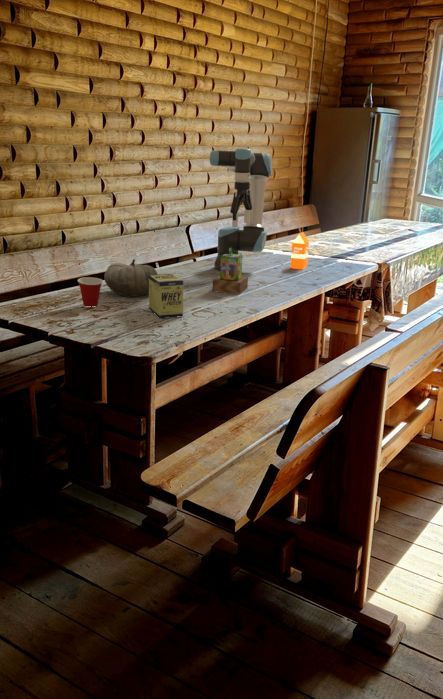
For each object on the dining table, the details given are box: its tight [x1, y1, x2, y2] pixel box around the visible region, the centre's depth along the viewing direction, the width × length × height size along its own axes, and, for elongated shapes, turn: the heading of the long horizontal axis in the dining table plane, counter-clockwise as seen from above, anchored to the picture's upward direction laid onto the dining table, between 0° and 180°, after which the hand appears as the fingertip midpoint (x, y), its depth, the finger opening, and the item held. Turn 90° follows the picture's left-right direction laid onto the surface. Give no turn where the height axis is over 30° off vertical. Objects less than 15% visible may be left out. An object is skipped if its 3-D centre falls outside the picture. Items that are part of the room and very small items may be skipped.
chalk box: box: [219, 248, 243, 281], centre depth 330 cm, size 9×9×15 cm
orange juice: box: [290, 231, 310, 270], centre depth 390 cm, size 8×9×20 cm
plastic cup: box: [77, 276, 104, 307], centre depth 294 cm, size 11×11×12 cm
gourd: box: [103, 258, 158, 297], centre depth 318 cm, size 25×25×17 cm
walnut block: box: [211, 275, 249, 295], centre depth 333 cm, size 14×14×6 cm
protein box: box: [148, 273, 184, 319], centre depth 286 cm, size 10×16×16 cm
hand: (240, 225), depth 338 cm, fingers open, 13 cm apart
